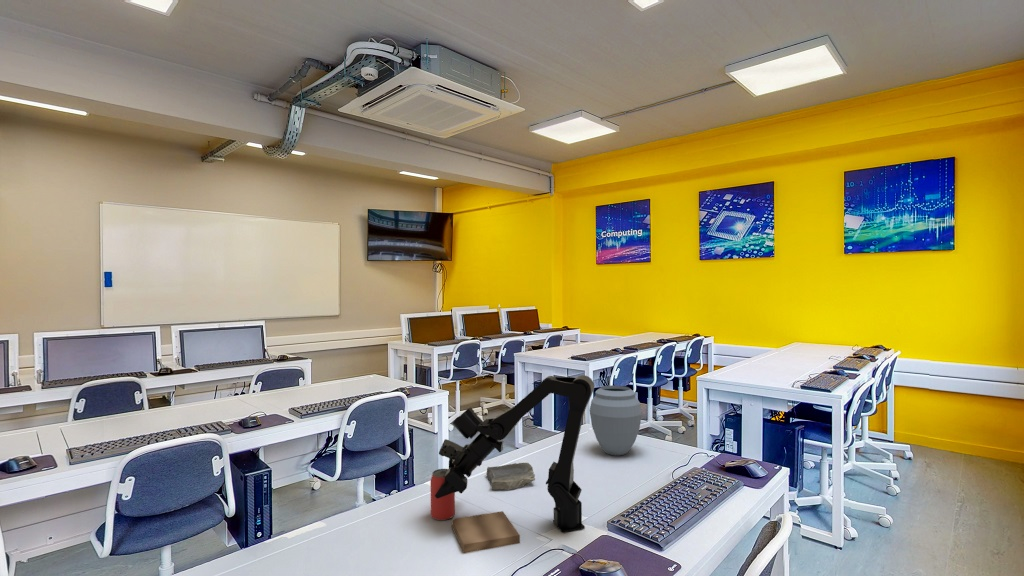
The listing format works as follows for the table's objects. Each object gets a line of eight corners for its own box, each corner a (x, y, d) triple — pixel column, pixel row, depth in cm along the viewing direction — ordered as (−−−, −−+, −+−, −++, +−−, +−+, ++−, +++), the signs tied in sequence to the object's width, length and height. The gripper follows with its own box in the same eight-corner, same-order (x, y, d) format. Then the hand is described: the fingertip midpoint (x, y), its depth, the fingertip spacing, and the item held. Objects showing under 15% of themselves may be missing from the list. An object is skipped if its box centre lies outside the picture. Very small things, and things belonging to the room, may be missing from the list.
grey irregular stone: (492, 493, 152) (492, 481, 152) (485, 474, 168) (484, 463, 168) (540, 489, 155) (540, 477, 155) (529, 471, 171) (529, 460, 171)
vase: (643, 446, 195) (643, 384, 195) (640, 463, 176) (640, 394, 176) (593, 442, 201) (593, 382, 201) (586, 458, 182) (585, 392, 182)
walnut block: (502, 520, 135) (502, 511, 135) (519, 545, 122) (519, 534, 122) (451, 528, 131) (451, 519, 131) (463, 555, 117) (463, 544, 117)
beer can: (457, 510, 140) (456, 468, 140) (452, 521, 133) (451, 477, 133) (434, 510, 140) (433, 467, 140) (428, 520, 134) (427, 476, 134)
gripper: (459, 421, 146) (422, 459, 146) (452, 441, 128) (410, 484, 127) (486, 448, 146) (449, 486, 146) (483, 471, 128) (441, 515, 127)
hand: (437, 491), depth 137 cm, fingers closed on beer can, 6 cm apart
